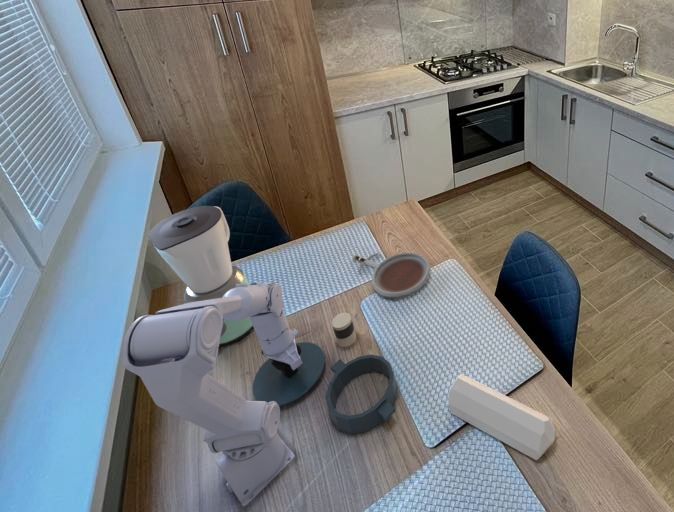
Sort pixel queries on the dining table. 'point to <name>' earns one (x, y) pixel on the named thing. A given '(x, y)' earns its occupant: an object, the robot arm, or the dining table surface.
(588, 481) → the dining table surface
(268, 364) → the lid
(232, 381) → the dining table surface
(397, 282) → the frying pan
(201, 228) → the blender
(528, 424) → the beveled cream prism
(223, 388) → the robot arm
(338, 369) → the pot
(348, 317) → the cylinder
